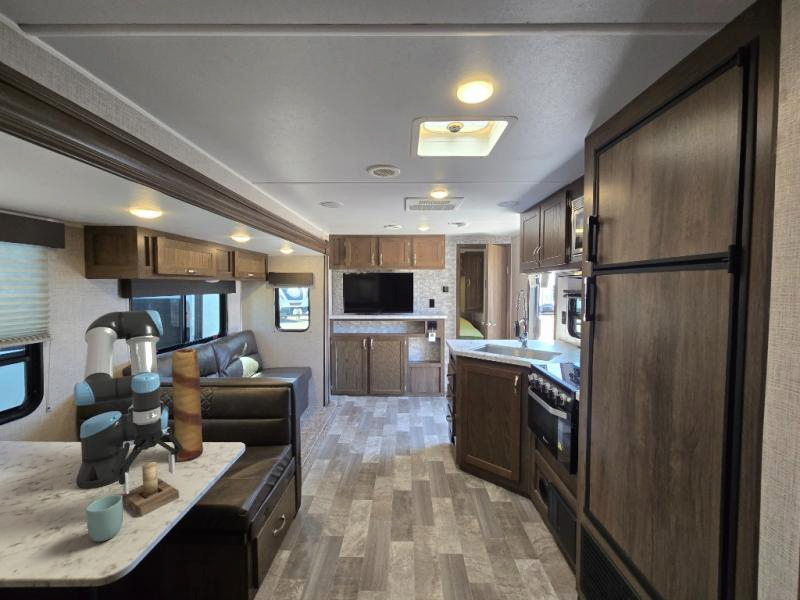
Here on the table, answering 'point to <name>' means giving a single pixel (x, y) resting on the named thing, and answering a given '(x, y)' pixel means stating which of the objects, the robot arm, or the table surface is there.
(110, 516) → the cup
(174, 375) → the wafer roll
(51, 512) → the table surface
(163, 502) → the box with square hole
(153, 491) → the peg
